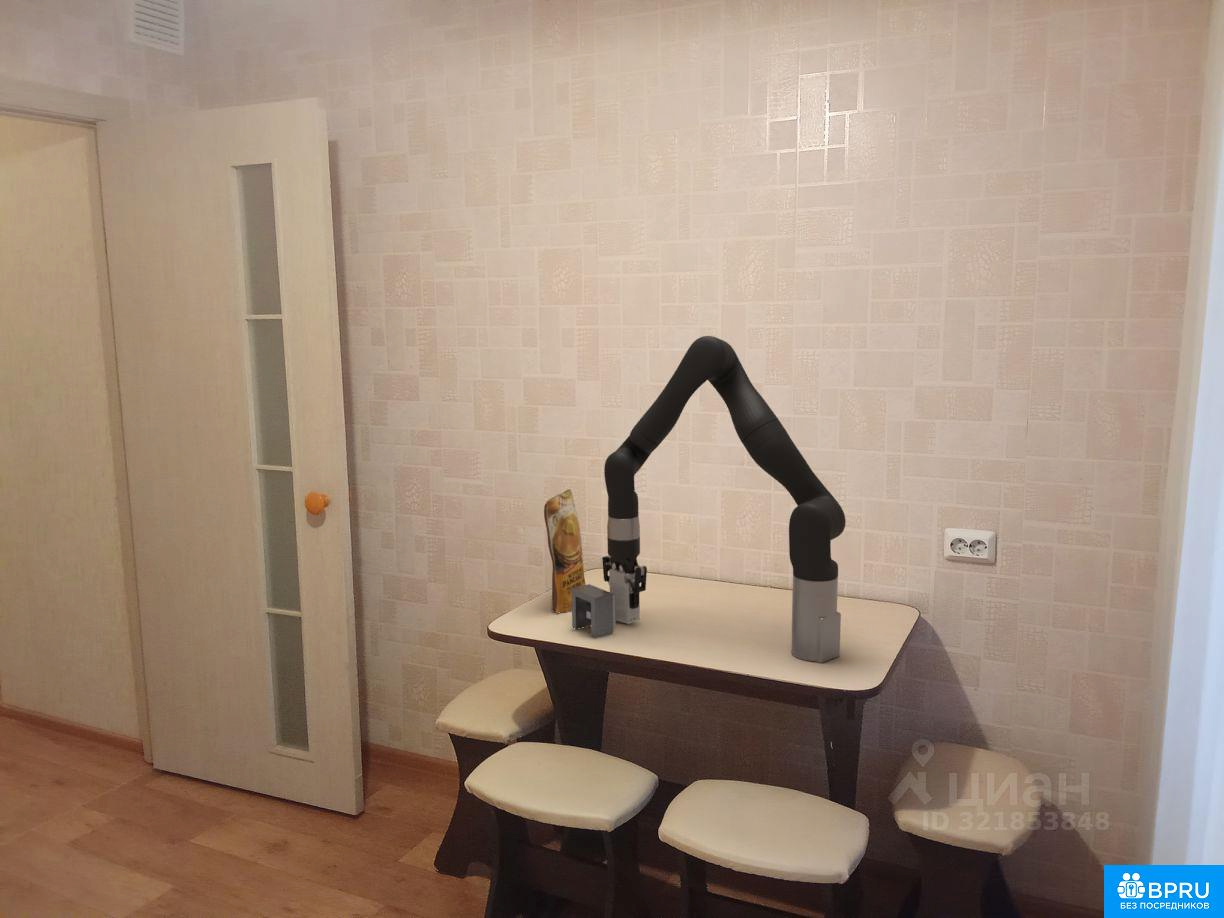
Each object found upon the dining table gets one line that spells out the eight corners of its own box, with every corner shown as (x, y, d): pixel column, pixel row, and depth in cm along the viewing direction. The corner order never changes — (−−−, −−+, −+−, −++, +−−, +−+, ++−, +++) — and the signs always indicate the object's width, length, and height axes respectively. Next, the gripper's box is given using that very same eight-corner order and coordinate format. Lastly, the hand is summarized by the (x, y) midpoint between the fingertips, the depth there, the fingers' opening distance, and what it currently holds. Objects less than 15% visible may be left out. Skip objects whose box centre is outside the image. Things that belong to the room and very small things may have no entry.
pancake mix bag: (537, 614, 222) (534, 500, 218) (572, 591, 239) (569, 486, 235) (562, 617, 219) (559, 503, 215) (595, 594, 237) (593, 488, 232)
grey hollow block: (634, 627, 212) (634, 587, 211) (595, 638, 205) (594, 597, 204) (603, 614, 222) (603, 576, 220) (564, 624, 215) (564, 585, 213)
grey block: (615, 626, 211) (615, 596, 210) (595, 631, 208) (594, 602, 207) (590, 615, 219) (590, 586, 218) (570, 620, 215) (569, 591, 214)
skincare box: (640, 619, 215) (640, 570, 213) (628, 624, 212) (627, 574, 210) (621, 614, 219) (620, 565, 217) (609, 618, 216) (608, 569, 214)
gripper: (656, 538, 209) (656, 608, 212) (617, 526, 220) (618, 593, 223) (630, 543, 204) (631, 615, 207) (592, 531, 216) (593, 600, 218)
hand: (624, 604), depth 215 cm, fingers closed on skincare box, 6 cm apart
